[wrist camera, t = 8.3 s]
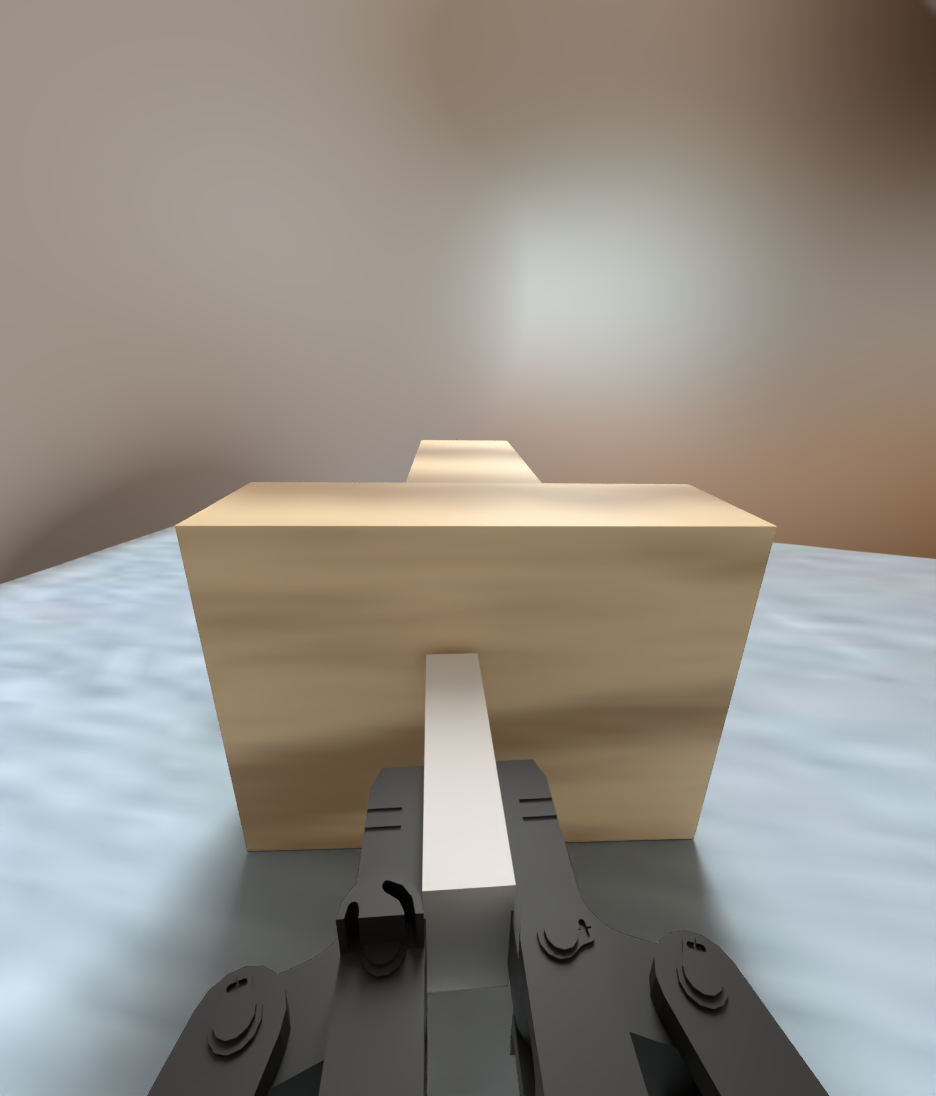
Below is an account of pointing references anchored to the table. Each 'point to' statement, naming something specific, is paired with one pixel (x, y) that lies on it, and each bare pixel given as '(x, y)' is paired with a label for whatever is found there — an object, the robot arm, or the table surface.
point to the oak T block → (472, 637)
